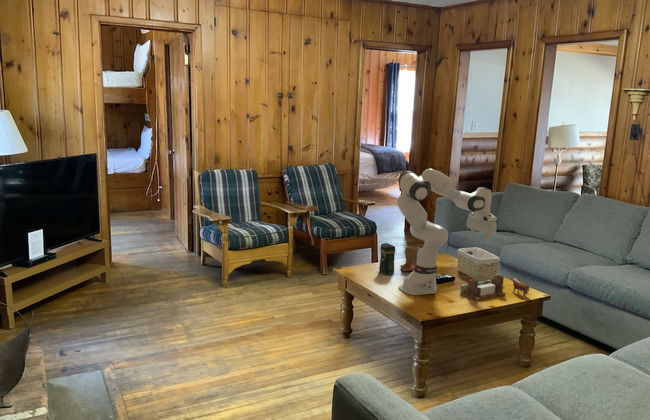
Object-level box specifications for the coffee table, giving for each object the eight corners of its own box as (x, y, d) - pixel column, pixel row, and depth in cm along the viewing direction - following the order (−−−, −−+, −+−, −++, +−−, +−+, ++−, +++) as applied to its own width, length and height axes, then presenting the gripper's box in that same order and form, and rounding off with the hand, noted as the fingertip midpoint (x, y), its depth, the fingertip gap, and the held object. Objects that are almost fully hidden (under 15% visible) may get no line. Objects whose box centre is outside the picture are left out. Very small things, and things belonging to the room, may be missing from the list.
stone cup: (416, 265, 356) (418, 243, 353) (425, 271, 345) (427, 248, 342) (395, 267, 351) (397, 245, 348) (403, 273, 340) (405, 250, 337)
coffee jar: (396, 274, 337) (397, 245, 334) (385, 275, 334) (386, 246, 330) (387, 269, 346) (389, 241, 342) (377, 271, 343) (378, 242, 339)
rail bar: (479, 295, 302) (480, 288, 301) (475, 293, 305) (475, 286, 304) (495, 292, 308) (495, 285, 307) (490, 290, 311) (491, 283, 310)
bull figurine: (513, 289, 318) (515, 276, 316) (529, 297, 305) (531, 283, 304) (507, 290, 316) (509, 276, 314) (523, 298, 304) (525, 284, 302)
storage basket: (499, 280, 333) (501, 257, 330) (476, 282, 327) (479, 259, 324) (475, 268, 355) (477, 246, 352) (454, 270, 349) (456, 248, 346)
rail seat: (475, 301, 297) (477, 282, 295) (460, 294, 307) (461, 275, 305) (505, 294, 308) (507, 276, 306) (489, 288, 318) (491, 270, 316)
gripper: (465, 212, 319) (463, 234, 322) (491, 219, 302) (488, 243, 305) (473, 211, 322) (470, 233, 325) (499, 218, 305) (496, 242, 308)
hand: (479, 238), depth 315 cm, fingers open, 8 cm apart
